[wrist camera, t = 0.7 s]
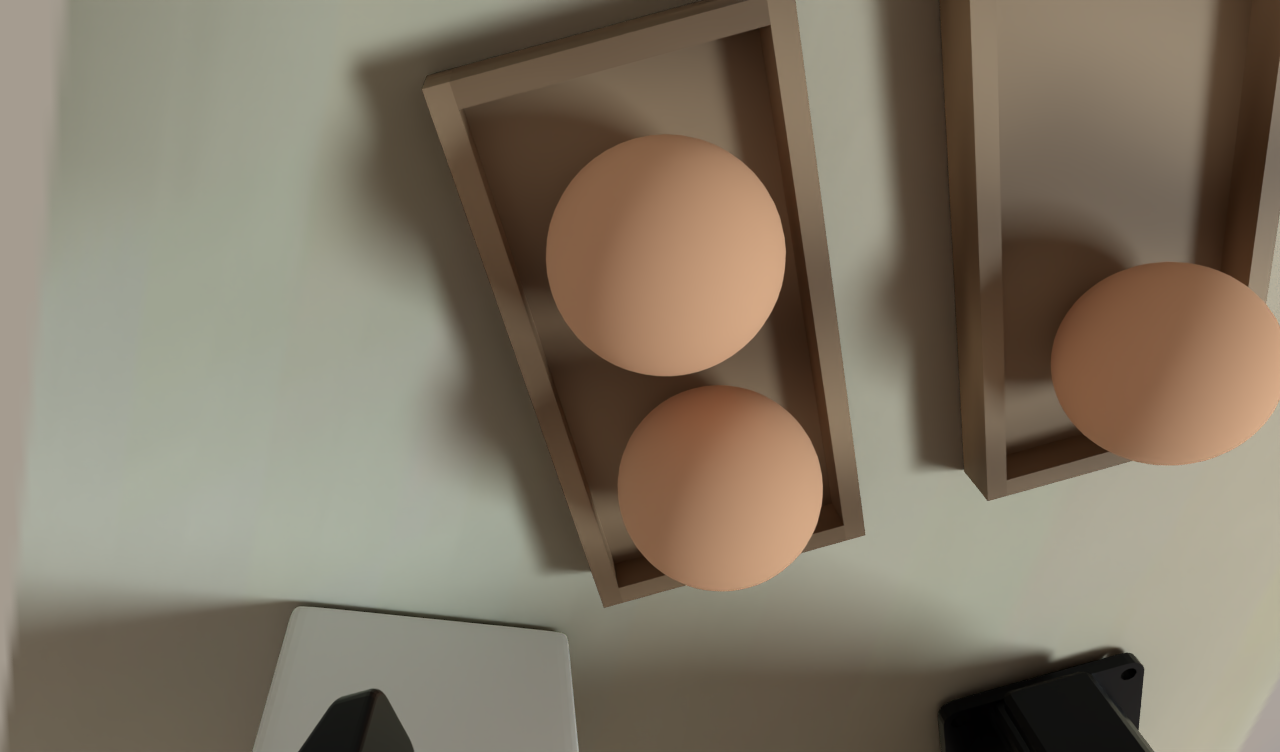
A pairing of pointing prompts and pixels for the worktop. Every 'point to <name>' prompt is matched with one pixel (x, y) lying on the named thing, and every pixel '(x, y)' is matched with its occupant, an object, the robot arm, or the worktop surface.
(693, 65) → the trough
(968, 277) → the trough
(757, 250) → the ball
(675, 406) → the ball
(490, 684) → the milk carton
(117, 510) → the worktop surface
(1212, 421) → the ball
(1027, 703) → the robot arm
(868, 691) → the worktop surface
